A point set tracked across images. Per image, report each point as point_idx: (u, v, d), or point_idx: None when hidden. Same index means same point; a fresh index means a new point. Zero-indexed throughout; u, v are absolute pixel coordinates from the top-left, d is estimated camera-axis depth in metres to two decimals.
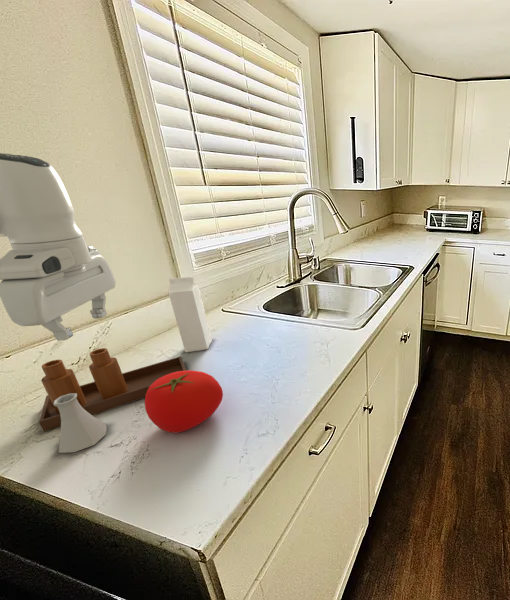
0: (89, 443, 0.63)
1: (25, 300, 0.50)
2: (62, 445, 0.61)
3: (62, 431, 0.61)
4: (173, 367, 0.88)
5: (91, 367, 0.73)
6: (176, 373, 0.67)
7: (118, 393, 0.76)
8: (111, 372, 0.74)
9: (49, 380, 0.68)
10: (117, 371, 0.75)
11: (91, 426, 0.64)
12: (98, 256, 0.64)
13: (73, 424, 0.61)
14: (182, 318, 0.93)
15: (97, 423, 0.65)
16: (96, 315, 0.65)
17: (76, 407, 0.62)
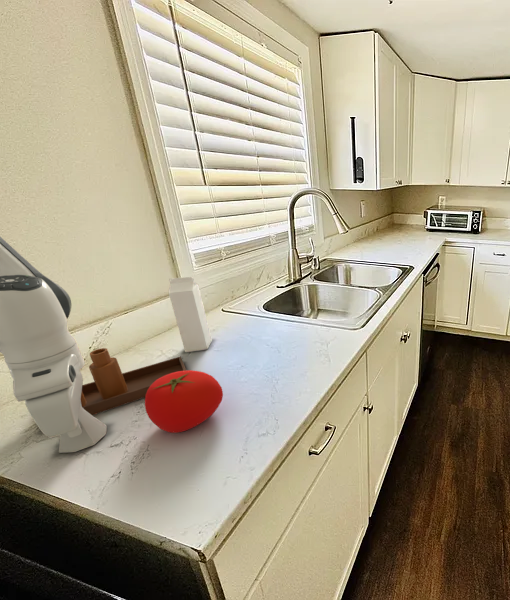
0: (89, 443, 0.63)
1: (60, 411, 0.54)
2: (62, 445, 0.61)
3: None
4: (173, 367, 0.88)
5: (91, 367, 0.73)
6: (176, 373, 0.67)
7: (118, 393, 0.76)
8: (111, 372, 0.74)
9: None
10: (117, 371, 0.75)
11: (91, 426, 0.64)
12: None
13: None
14: (182, 318, 0.93)
15: (97, 423, 0.65)
16: None
17: None
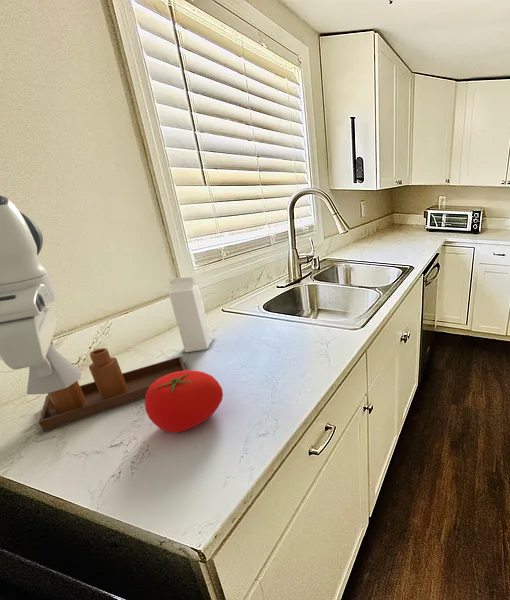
0: (61, 386, 0.58)
1: (25, 340, 0.49)
2: (31, 386, 0.56)
3: (30, 371, 0.56)
4: (173, 367, 0.88)
5: (91, 367, 0.73)
6: (176, 373, 0.67)
7: (118, 393, 0.76)
8: (111, 372, 0.74)
9: None
10: (117, 371, 0.75)
11: (64, 368, 0.59)
12: None
13: None
14: (182, 318, 0.93)
15: (70, 366, 0.60)
16: None
17: None
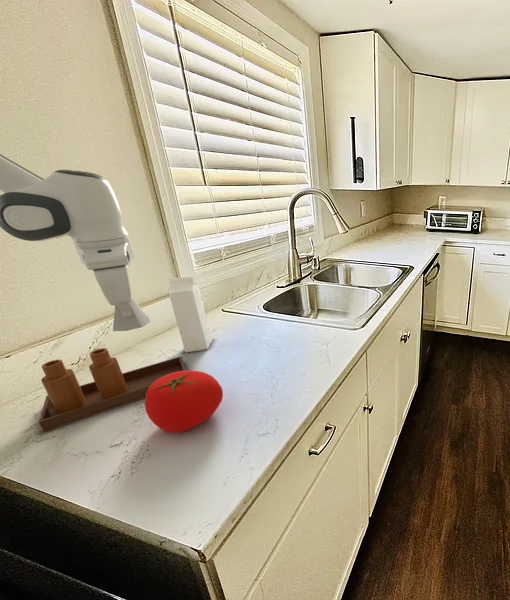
0: (137, 325, 0.74)
1: (120, 282, 0.65)
2: (115, 325, 0.72)
3: (115, 313, 0.72)
4: (173, 367, 0.88)
5: (91, 367, 0.73)
6: (176, 373, 0.67)
7: (118, 393, 0.76)
8: (111, 372, 0.74)
9: (49, 380, 0.68)
10: (117, 371, 0.75)
11: (139, 312, 0.75)
12: None
13: None
14: (182, 318, 0.93)
15: (142, 312, 0.76)
16: None
17: None
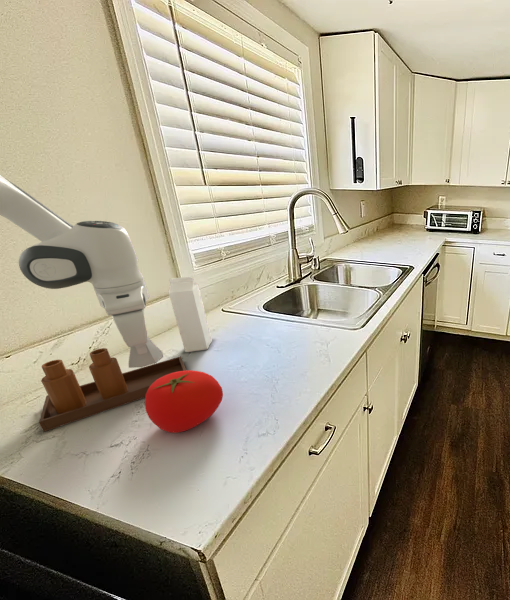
0: (152, 361, 0.78)
1: (138, 326, 0.69)
2: (131, 361, 0.76)
3: (131, 350, 0.76)
4: (173, 367, 0.88)
5: (91, 367, 0.73)
6: (176, 373, 0.67)
7: (118, 393, 0.76)
8: (111, 372, 0.74)
9: (49, 380, 0.68)
10: (117, 371, 0.75)
11: (153, 349, 0.79)
12: None
13: None
14: (182, 318, 0.93)
15: (156, 347, 0.80)
16: None
17: None
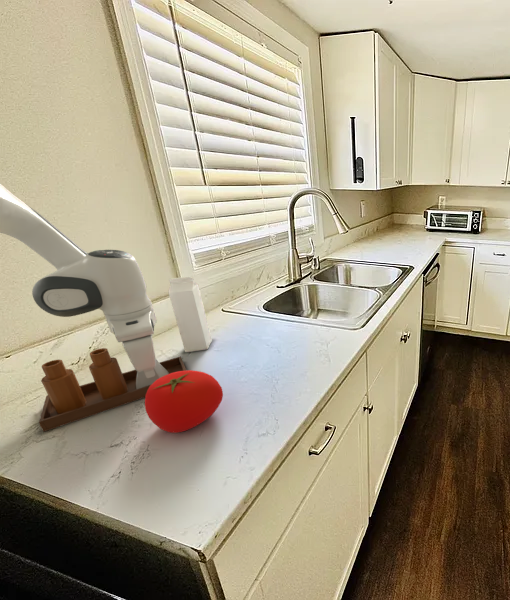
0: None
1: (146, 351, 0.71)
2: (139, 383, 0.79)
3: (139, 372, 0.78)
4: (173, 367, 0.88)
5: (91, 367, 0.73)
6: (176, 373, 0.67)
7: (118, 393, 0.76)
8: (111, 372, 0.74)
9: (49, 380, 0.68)
10: (117, 371, 0.75)
11: (160, 370, 0.81)
12: None
13: None
14: (182, 318, 0.93)
15: (163, 368, 0.83)
16: None
17: None
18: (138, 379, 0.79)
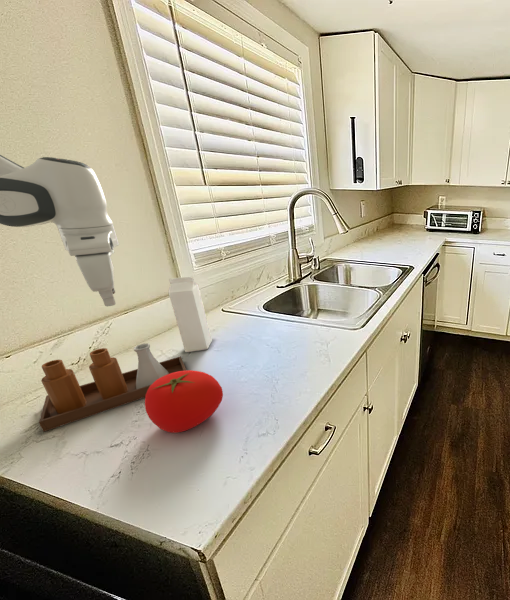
0: None
1: (102, 269, 0.66)
2: (139, 383, 0.79)
3: (139, 372, 0.78)
4: (173, 367, 0.88)
5: (91, 367, 0.73)
6: (176, 373, 0.67)
7: (118, 393, 0.76)
8: (111, 372, 0.74)
9: (49, 380, 0.68)
10: (117, 371, 0.75)
11: (160, 370, 0.81)
12: None
13: (147, 366, 0.79)
14: (182, 318, 0.93)
15: (163, 368, 0.83)
16: None
17: (149, 354, 0.79)
18: (138, 379, 0.79)
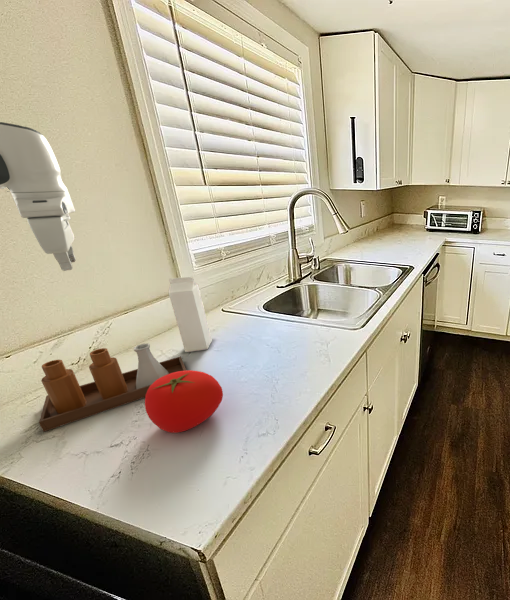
0: None
1: (55, 231, 0.68)
2: (139, 383, 0.79)
3: (139, 372, 0.78)
4: (173, 367, 0.88)
5: (91, 367, 0.73)
6: (176, 373, 0.67)
7: (118, 393, 0.76)
8: (111, 372, 0.74)
9: (49, 380, 0.68)
10: (117, 371, 0.75)
11: (160, 370, 0.81)
12: None
13: (147, 366, 0.79)
14: (182, 318, 0.93)
15: (163, 368, 0.83)
16: (69, 260, 0.80)
17: (149, 354, 0.79)
18: (138, 379, 0.79)
